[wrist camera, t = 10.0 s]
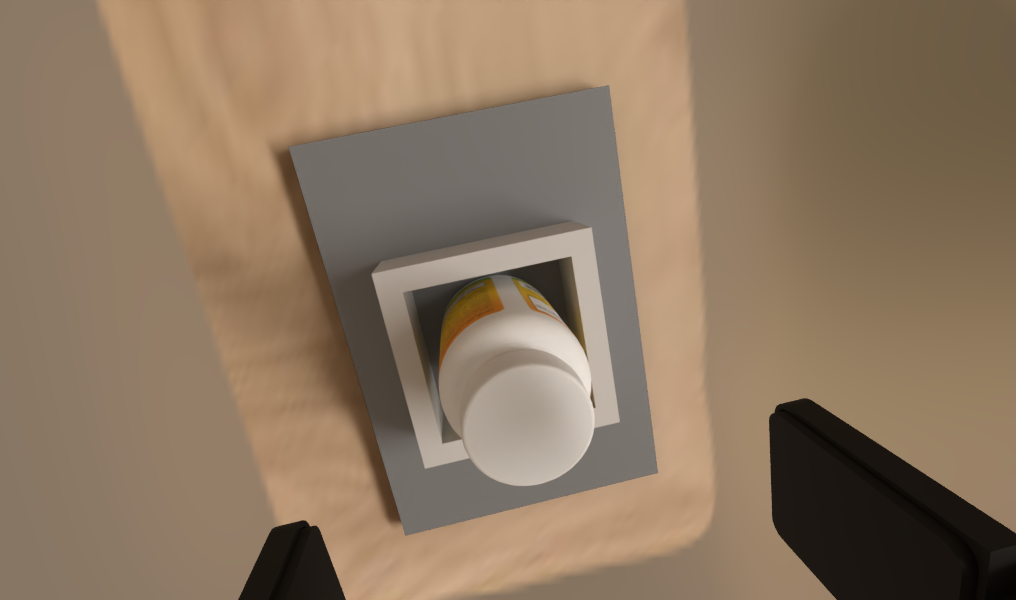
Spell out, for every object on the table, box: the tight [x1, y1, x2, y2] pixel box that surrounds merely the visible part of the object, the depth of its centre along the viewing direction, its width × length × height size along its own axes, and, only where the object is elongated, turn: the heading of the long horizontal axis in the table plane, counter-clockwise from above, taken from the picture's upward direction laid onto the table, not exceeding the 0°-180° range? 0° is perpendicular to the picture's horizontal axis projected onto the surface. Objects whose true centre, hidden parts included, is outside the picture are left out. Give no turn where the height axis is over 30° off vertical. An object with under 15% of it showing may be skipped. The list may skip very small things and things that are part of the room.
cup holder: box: [289, 85, 658, 536], centre depth 23 cm, size 20×14×4 cm
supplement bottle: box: [439, 275, 595, 486], centre depth 19 cm, size 5×5×10 cm
